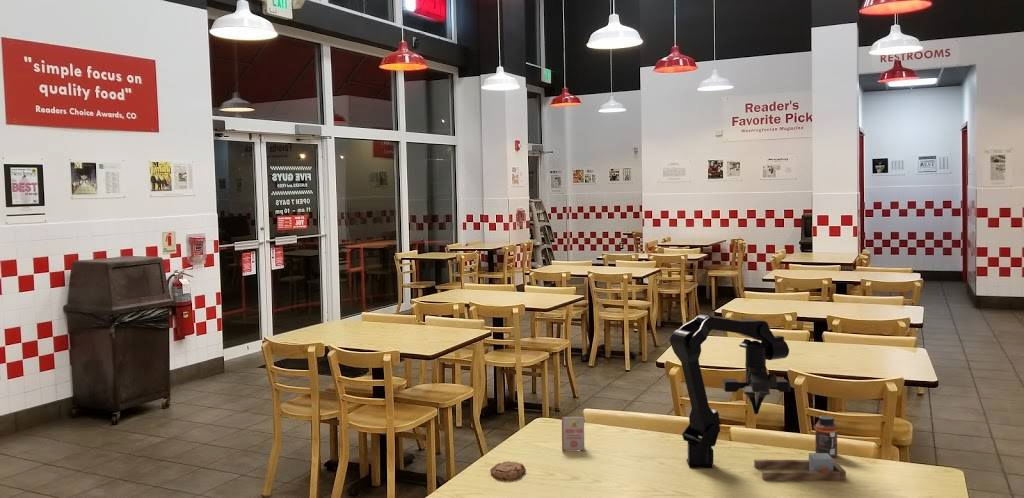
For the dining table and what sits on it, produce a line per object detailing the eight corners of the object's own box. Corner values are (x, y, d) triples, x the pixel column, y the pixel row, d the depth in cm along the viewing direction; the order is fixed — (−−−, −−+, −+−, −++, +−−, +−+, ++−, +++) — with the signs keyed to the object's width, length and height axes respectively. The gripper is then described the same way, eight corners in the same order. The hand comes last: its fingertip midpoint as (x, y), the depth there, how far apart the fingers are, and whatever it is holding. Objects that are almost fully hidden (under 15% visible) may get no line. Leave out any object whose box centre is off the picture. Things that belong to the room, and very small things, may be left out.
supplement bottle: (839, 459, 230) (839, 420, 229) (817, 458, 231) (817, 419, 230) (835, 452, 235) (835, 414, 235) (813, 451, 237) (813, 414, 236)
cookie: (494, 483, 216) (494, 472, 216) (488, 470, 227) (487, 460, 227) (530, 479, 218) (529, 469, 218) (522, 467, 229) (522, 457, 229)
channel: (763, 480, 214) (763, 468, 213) (754, 466, 224) (754, 455, 224) (845, 480, 212) (845, 468, 212) (832, 467, 223) (832, 455, 223)
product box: (562, 447, 246) (561, 415, 246) (584, 447, 245) (583, 415, 245) (562, 450, 242) (561, 418, 242) (584, 451, 242) (583, 418, 241)
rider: (814, 477, 215) (814, 459, 215) (808, 470, 220) (809, 453, 220) (833, 477, 215) (833, 459, 215) (827, 471, 220) (827, 453, 220)
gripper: (728, 367, 227) (728, 421, 228) (795, 367, 225) (795, 421, 226) (721, 359, 238) (721, 411, 239) (785, 359, 236) (785, 411, 237)
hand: (755, 413), depth 235 cm, fingers closed
